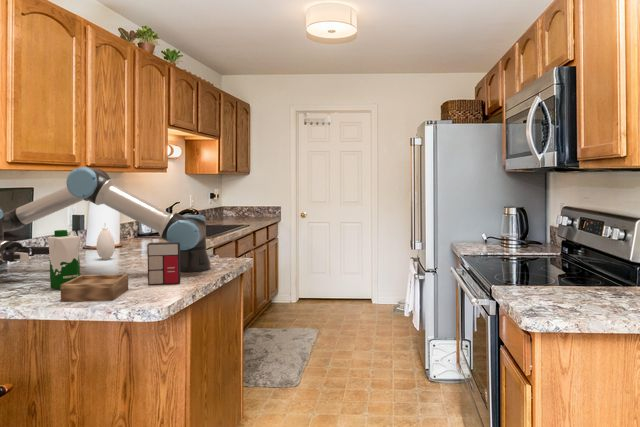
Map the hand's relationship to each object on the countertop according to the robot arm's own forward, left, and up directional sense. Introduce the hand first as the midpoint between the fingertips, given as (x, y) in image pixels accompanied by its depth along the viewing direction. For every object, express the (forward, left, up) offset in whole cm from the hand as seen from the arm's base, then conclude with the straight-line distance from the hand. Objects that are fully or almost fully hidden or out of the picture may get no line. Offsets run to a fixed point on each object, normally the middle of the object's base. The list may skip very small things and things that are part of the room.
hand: (46, 254), depth 166 cm
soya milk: (-8, +5, -11) cm, 15 cm away
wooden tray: (-23, +18, -11) cm, 31 cm away
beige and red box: (-41, +2, -11) cm, 43 cm away
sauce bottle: (0, -58, -11) cm, 59 cm away
